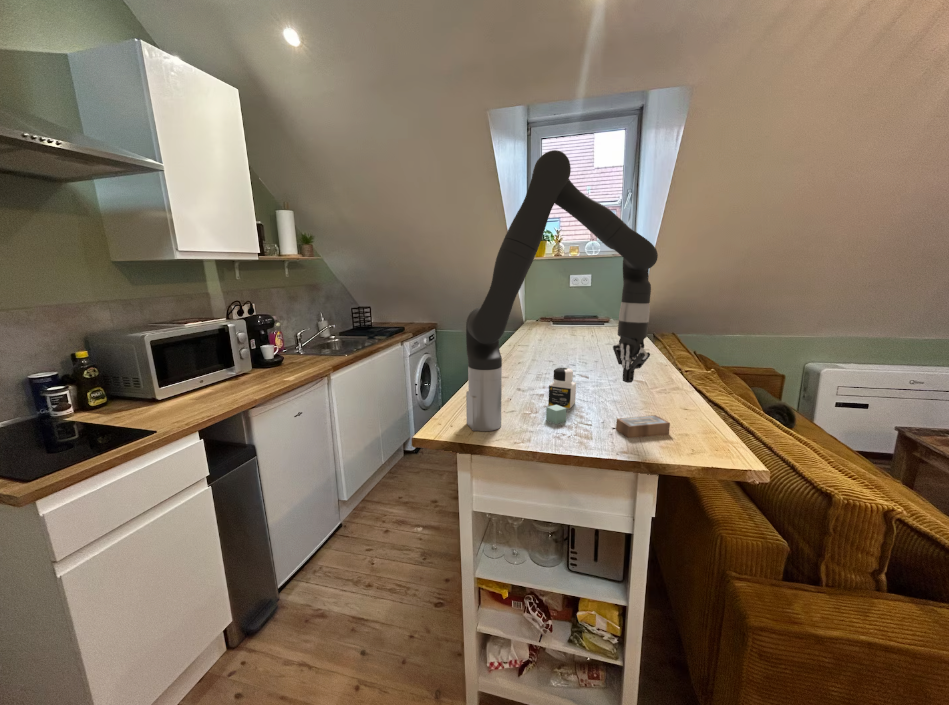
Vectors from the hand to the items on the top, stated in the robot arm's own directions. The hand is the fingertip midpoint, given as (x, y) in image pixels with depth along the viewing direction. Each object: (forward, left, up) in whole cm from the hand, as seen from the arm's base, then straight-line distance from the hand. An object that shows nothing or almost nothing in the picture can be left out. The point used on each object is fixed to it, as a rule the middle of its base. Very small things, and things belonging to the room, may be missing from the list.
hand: (627, 381), depth 111 cm
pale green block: (-17, +9, -13) cm, 23 cm away
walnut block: (-5, -5, -11) cm, 13 cm away
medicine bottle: (-8, +21, -13) cm, 26 cm away
